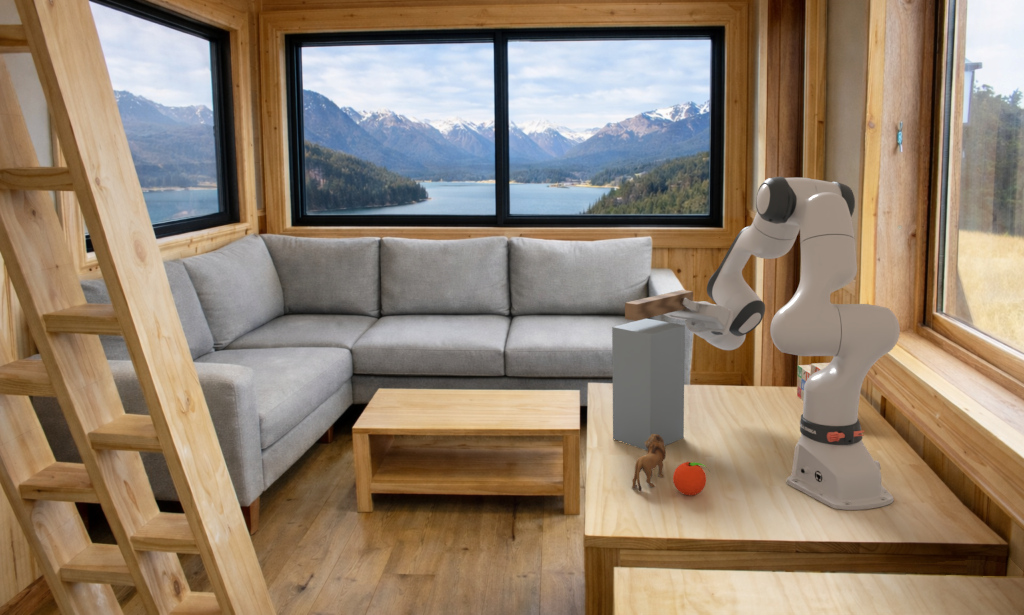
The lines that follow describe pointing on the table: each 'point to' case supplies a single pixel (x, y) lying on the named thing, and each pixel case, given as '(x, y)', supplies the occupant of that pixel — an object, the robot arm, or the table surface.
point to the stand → (648, 381)
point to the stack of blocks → (807, 375)
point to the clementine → (689, 478)
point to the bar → (656, 305)
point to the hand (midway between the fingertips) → (674, 299)
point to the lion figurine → (650, 460)
